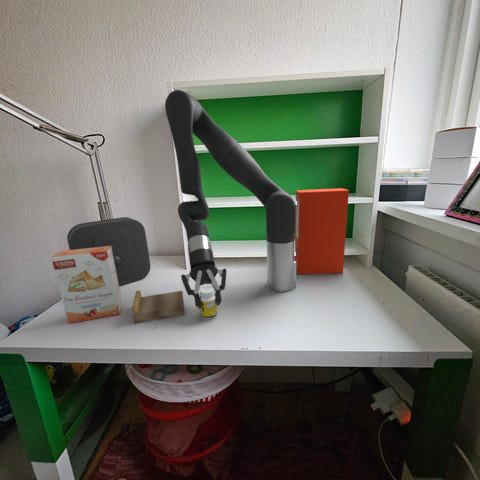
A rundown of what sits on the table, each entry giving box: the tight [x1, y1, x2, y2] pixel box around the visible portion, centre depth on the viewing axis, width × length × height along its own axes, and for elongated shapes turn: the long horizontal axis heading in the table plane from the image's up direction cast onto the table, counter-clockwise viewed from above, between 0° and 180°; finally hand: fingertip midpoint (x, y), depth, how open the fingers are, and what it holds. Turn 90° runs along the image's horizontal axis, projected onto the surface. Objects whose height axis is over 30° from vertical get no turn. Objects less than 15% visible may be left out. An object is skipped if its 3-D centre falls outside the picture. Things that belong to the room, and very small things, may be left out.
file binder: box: [294, 188, 350, 275], centre depth 97 cm, size 8×17×32 cm, turn 88°
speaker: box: [66, 216, 152, 288], centre depth 94 cm, size 25×9×25 cm, turn 129°
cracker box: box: [50, 246, 123, 324], centre depth 74 cm, size 14×6×21 cm, turn 105°
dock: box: [131, 290, 186, 324], centre depth 76 cm, size 14×10×5 cm
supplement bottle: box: [199, 286, 218, 321], centre depth 72 cm, size 5×5×8 cm
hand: (209, 306), depth 70 cm, fingers closed on supplement bottle, 4 cm apart
